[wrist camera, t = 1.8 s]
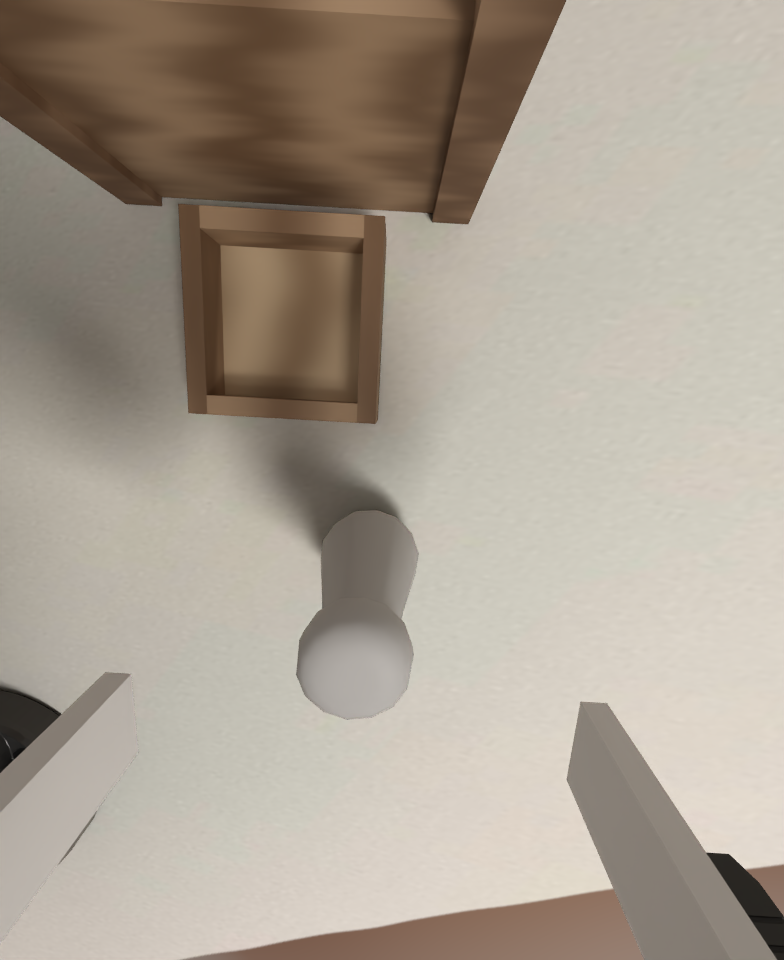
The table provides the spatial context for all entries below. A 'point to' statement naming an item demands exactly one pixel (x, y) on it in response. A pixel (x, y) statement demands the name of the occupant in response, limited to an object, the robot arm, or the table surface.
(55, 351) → the table surface
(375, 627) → the salt shaker
